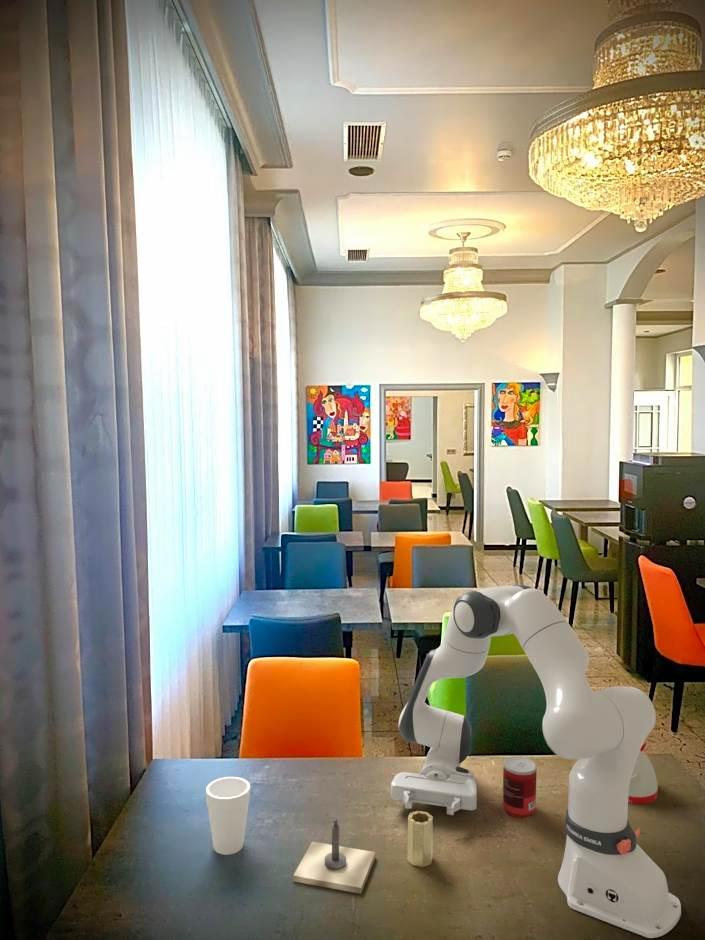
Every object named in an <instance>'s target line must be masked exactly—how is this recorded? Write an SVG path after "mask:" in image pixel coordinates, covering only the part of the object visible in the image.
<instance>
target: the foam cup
mask: <svg viewBox="0 0 705 940" xmlns="http://www.w3.org/2000/svg"><path fill="white" fill-rule="evenodd" d="M205 789H206V790H205V792H206V793H205V801H206V802H205V803H206V804H207V811H208V818H209V826H210V831H211V832H210V834H211V837H212V838H211V840H212V846H213V850H214V852H216V853H217V854H220V855H225V856H226V855H228V856H229V855H234V854H237V853H238V852H240V851H241V850H242V848H243V847H244V842H245V837H246V836H245V835H246V827H247V819H248V812H249V811H248V810H249V804H250V803H249V802H250V799H251V784H250V782H249V780H247V779H246V778H243V777H238V776H225V777H224V776H223V777H220V778H216V779H215V780H213V781H211V782H209V784H208V785H207V786H206V788H205Z"/></svg>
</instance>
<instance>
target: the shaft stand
mask: <svg viewBox="0 0 705 940" xmlns="http://www.w3.org/2000/svg"><path fill="white" fill-rule="evenodd" d="M375 859H376V851H371V850H364V849H358V848H354V847H346V846H341V845H340V824H338V819H336V818H334V819H333V824H332V825H331V844H329V843H323V842H317V841H311V843H310V845H309V847H308V848H307V850H306V852H305V853H304V855H303V858H302V859H301V860H300V863H299V864H298V866H297V868H296V869H295V871H294V874H292V877H293V878H292V879H293V880H292V882H295V883H301V884H306V885H311V886H317V887H321V888H327V889H328V888H329V889H333V890H338V891H343V892H349V893H355V894H360V895H361V894H362V892H363V890H364V887H365V884H366V882H367V880H368V878H369V875H370V872H371V869H372V867H373V865H374V863H375Z"/></svg>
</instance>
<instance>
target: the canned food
mask: <svg viewBox="0 0 705 940" xmlns="http://www.w3.org/2000/svg"><path fill="white" fill-rule="evenodd" d="M537 770H538V769H537V764H536V763H535V762H534V761H532V760H531V759H529V758H526V757H521V756H520V757H519V756H513V757H508V758H506V759H504V762H503V770H502V771H503V773H502V778H503V779H502V806H503V807H502V808H503V810H504V812H506V813H507V814H508V815H510V816H512V817H515V818H522V819H525V818H528V817H529V818H530V817H531V816H533V815H534V813H535V812H536V805H537V803H536V802H537Z"/></svg>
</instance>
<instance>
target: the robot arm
mask: <svg viewBox="0 0 705 940" xmlns="http://www.w3.org/2000/svg"><path fill="white" fill-rule="evenodd" d="M444 631H445V632H444V636H443V640H442V643H441V644H440V645H439V647H437V648H435V649H432V650H430V651H428V653H427V655H426V657H425V659H424V661H423V664H422V666H421V668H420V670H419V672H418V675H417V676H416V677H417V678H416V680H415V683H414V685H413V688H412V689H411V693H410V695H409V698H408V701H407V703H406V704H405V706H404V707H403V708H402V711H401V713H400V715H399V719H398V729H397V730H398V731H399V733H400V735H401V737H402V738H403V740H404V741H405V742H407V743H412V744H416V745H422V746H427V747H428V748H430V749H429V750H428V752H427V755H426V757H425V761H424V763H423V765H422V768H421V771H420V773H414V772H407V771H402V772H399V773H398V774H395V775H394V777H393V779H392V781H391V784H390V797H391V799H393V800H396V801H403V803H404V804H405V809H411V810H412V809H413V807H414V803H417V804H424V805H430V806H439V807H446V815H450V816H454V815H455V813H456V812H458V811H459V810H466V811H474V810H477V808H478V807H477V806H478V805H477V803H478V799H477V798H478V788H477V786H478V785H477V782H476V781H475V776H474V775H475V774H474V771H473V770H470V769H467V768H465V767H461V764H462V763H463V762H464V761H465V760H466V759H467V758H468V755H469V751H470V746H471V743H472V742H471V741H472V737H473V736H472V735H473V727H472V725H471V723H470V720H469V719H468V718H467V717H466V715H463V714H460V713H457V712H453V711H449V710H445V709H442V708H439V707H435V706H433V705H432V706H431V705H428V704H427V703H426V699H427V696H428V694H429V691H430V689H431V687H432V685H433V683H435V682H438V681H441V680H447V679H462V678H467V677H469V676H473V675H474V674H476V673H478V672H479V671H480V670H481V669H483V667H484V666H485V663H486V660H487V657H488V654H489V650H490V645H491V641H492V637H499V636H500V637H501V636H505V637H506V636H508V635H511V634H513V635H514V637H516V639H517V641H518V642H519V645H520V646H521V648H522V650H523V651H524V653H525V655H526V656H527V658H528V660H529V662H530V663H531V665H532V667H533V668H534V670H535V672H536V673H537V677H539V680H540V682H541V684H542V687H543V692H544V694H545V700H546V701H545V702H546V707H545V713H544V715H543V718H542V733H543V738H544V740H545V742H546V745H547V746H548V747H549V748H550V750H551V751H552V753H554V754H555V755H556V756H558V757H560V758H561V759H564V760H577V761H576V763H575V764H573V766H572V768H571V769H570V771H569V776H568V795H567V796H568V799H567V801H568V802H567V803H568V804H567V809H566V811H565V819H564V820H565V822H564V825H565V826H564V833H565V837H566V840H565V841H566V842H565V849H564V854H563V860H562V862H561V867H560V870H559V872H558V874H557V875H558V876H557V883H558V885H559V887H560V890H561V891H562V892H563V893H564V895H565V897H566V901H567V902H566V903H567V905H568V907H569V908H571V909H572V910H573V911H574V910H575V911H577V912H580V913H582V914H585V915H587V916H590V917H593V918H595V919H598V920H601V921H602V922H606V923H608V924H611V925H613V926H615V927H618V928H621V929H623V930H626V931H630V932H632V933H633V934H637V935H640V936H642V937H644V938H647V939H654V938H655V939H656V938H659V937H662V936H664V935H666V934H667V933H669V932H670V931H671V930H673V929H674V927H675V926H676V925H677V924H678V922H679V920H680V919H681V916H682V903H681V901H680V899H679V898H678V897H677V896H676V895H674V894H672V893H671V892H669V885H668V881H667V877H666V875H665V873H664V871H663V870H662V869H661V868H660V867H659V865H658V864H656V862H655V861H653V859H651V857H650V856H649V855H648V854H647V853H646V852H645V851H644V850H643V849H642V848H641V847H640V845H639V844H638V843H637V839H638V837H639V836H640V834H641V833H640V831H641V829H640V828H637V829H636V830H635V831H634V830H633V828H632V826H631V824H630V822H629V819H628V811H629V803H628V796H629V785H630V780H631V776H632V772H633V769H634V766H635V763H636V760H637V757H638V754H639V751H640V749H641V746H642V745H644V743H645V740H646V739H647V737H648V736H649V734H650V733H651V731H652V730H653V729H654V728H655V725H656V720H657V717H656V709H655V706H654V704H653V703H652V700H651V699H650V697H649V696H648V695H647V694H646V693H645V692H644V691H642V689H639V688H637V687H634V686H623V685H622V686H620V685H619V686H610V687H605V688H602V689H599V690H596V691H595V690H593V689H592V687H591V685H590V684H589V681H588V678H587V674H586V671H587V669H588V667H589V664H590V656H589V652H588V650H587V649H586V647H585V646H584V644H583V642H582V641H581V640H580V638H579V637H578V635H577V633H576V632H575V631H574V629H573V628H572V626H571V625H570V622H568V620H567V619H566V617H565V615H563V613H562V612H561V611H560V609H559V608H558V607H557V606H556V604H555V603H553V601H552V600H551V599H550V598H549V597H548V596H547V595H546V594H545V593H544V592H543V591H541V590H540V589H537V588H533V587H531V586H529V585H524V584H513V585H502V586H501V585H500V586H489V587H486V588H481V589H478V590H470V591H468V592H465V593H463V594H461V595H460V596H458V598H456V600H455V601H454V605H453V607H452V610H451V612H450V615H449V617H448V620H447V624H446V627H445V630H444Z"/></svg>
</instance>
